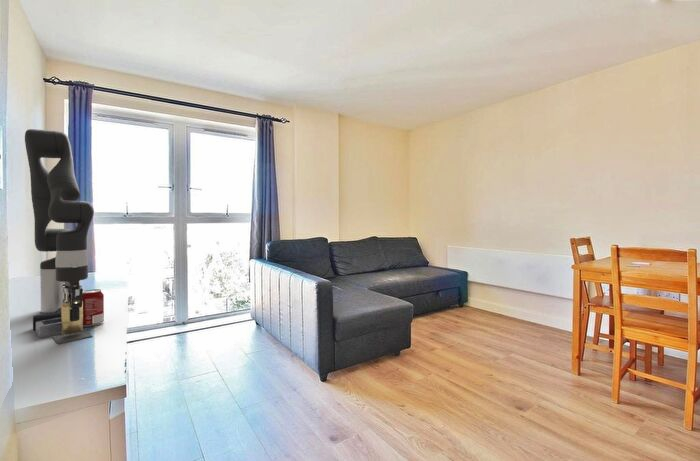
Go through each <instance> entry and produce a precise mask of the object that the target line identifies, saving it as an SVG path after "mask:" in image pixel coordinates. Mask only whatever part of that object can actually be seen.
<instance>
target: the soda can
mask: <svg viewBox="0 0 700 461" xmlns="http://www.w3.org/2000/svg"><path fill="white" fill-rule="evenodd" d="M104 297H105V296H104V293H103V292H102V289H101V288H99V289H98V288H96V289H95V288H92V289H85V290H83V295H82V301H83V328H91V326H92V327H96V325H97V326H99V325H100V324H102V323H104V321H105V319H104V318H105V315H104V314H105V312H104V311H105V308H104V306H105V305H104V301H105V300H104V299H105V298H104Z"/></svg>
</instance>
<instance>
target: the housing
mask: <svg viewBox="0 0 700 461" xmlns="http://www.w3.org/2000/svg"><path fill="white" fill-rule="evenodd" d="M35 324H36V331H35V333H36V335H37V336H38V338H40V339H43V338H47V337H53V336H58V335H63V334H62V317H60V318H54V319H48V320H42V321H36V322H35Z"/></svg>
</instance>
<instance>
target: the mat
mask: <svg viewBox="0 0 700 461" xmlns="http://www.w3.org/2000/svg"><path fill="white" fill-rule="evenodd" d="M89 338H93V335H92V334H91V332H88V331H87V329H83V330H82V331H80V332H77V333H73V334H58V335H53V336H52V339H53V341H55V342H56V344H57V345H61V344H66V343H71V342H75V341H79V340H80V341H81V340H85V339H89Z"/></svg>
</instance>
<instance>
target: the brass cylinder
mask: <svg viewBox="0 0 700 461" xmlns="http://www.w3.org/2000/svg"><path fill="white" fill-rule="evenodd" d="M74 304H77V301H74ZM61 308H62V334H61V335H64V334H73V333H77V332H80V331H84V327H83V301H82V307H80V308H79V317H80V319H79V320H78V321H73V322H71V321H70V311H69V303H68V302H65V303H62V304H61Z"/></svg>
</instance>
